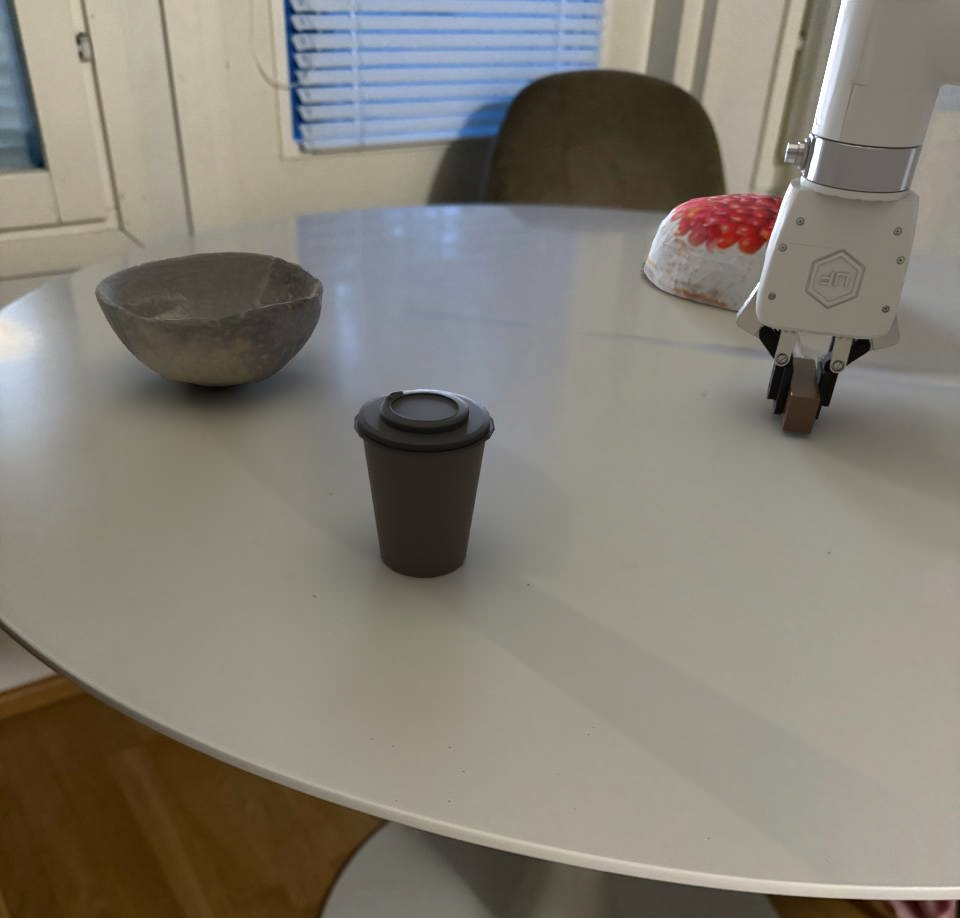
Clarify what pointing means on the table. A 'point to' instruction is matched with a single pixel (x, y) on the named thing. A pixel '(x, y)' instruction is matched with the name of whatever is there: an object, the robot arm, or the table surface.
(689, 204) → the cake
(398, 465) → the coffee cup
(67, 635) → the table surface
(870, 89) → the robot arm
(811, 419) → the knife
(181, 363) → the bowl
